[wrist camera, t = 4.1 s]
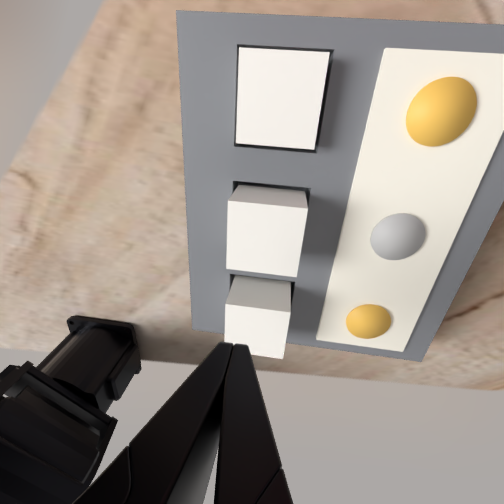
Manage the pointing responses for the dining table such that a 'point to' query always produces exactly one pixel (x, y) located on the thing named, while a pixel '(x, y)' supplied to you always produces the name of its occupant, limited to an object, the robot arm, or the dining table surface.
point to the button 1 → (280, 96)
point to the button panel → (352, 171)
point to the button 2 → (258, 315)
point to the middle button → (265, 230)
